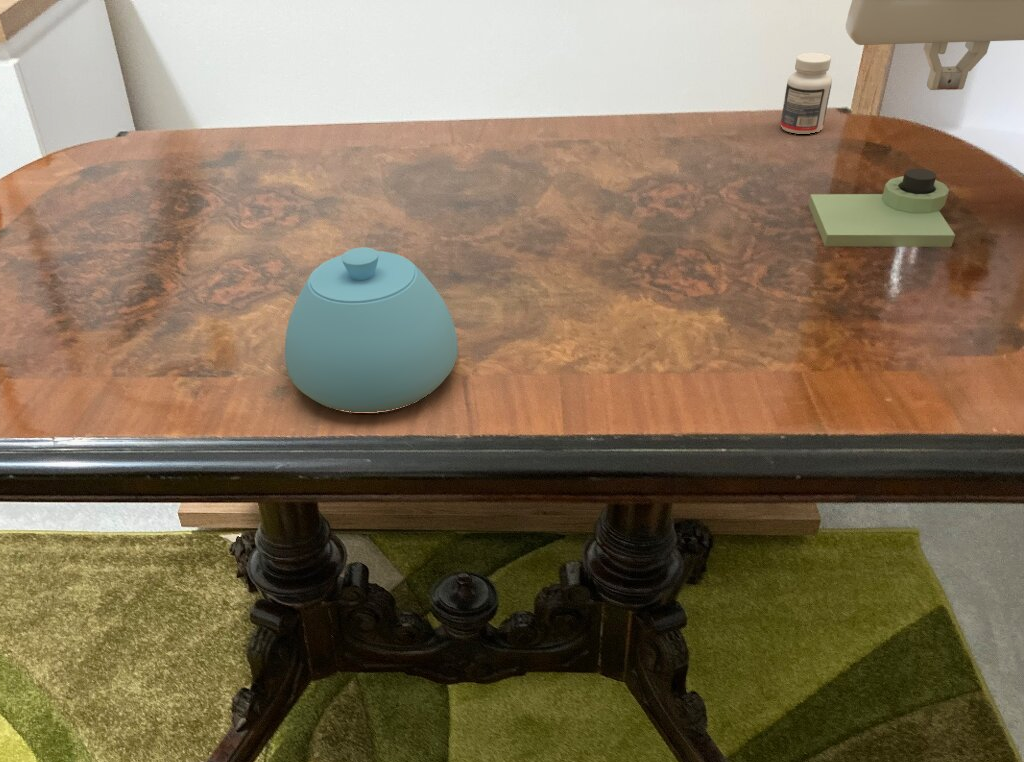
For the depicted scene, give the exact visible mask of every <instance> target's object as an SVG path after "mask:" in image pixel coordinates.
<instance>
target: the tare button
mask: <svg viewBox="0 0 1024 762" xmlns="http://www.w3.org/2000/svg"><path fill="white" fill-rule="evenodd" d="M903 176H904V177H903V181H902V185H901V190H903V191H905V192H908V193H913V194H929V193H931V192H932V190H933V187H934V183H935V180H937V173H936V172H935V171H932V170H929V169H926V168H910V169H907V170H905V171H904V174H903Z"/></svg>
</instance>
